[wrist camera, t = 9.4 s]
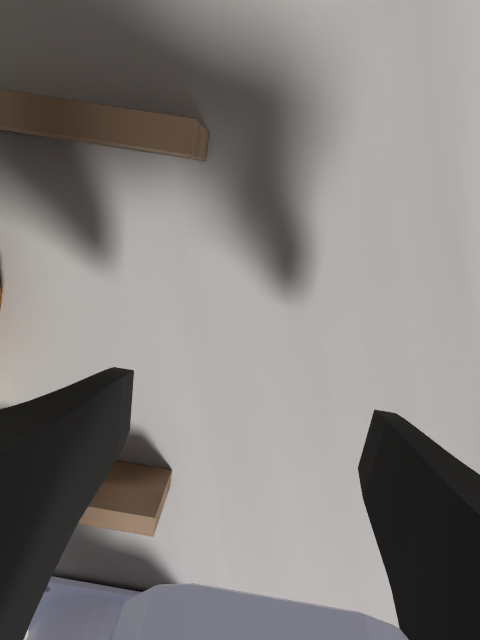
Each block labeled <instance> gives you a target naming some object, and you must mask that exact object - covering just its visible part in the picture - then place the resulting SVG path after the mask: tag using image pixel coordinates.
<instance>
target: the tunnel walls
mask: <svg viewBox="0 0 480 640" xmlns="http://www.w3.org/2000/svg"><path fill="white" fill-rule="evenodd" d="M0 130H5V131H12V132H19V133H25V134H32V135H38V136H45V137H51V138H58V139H65V140H71V141H78V142H84V143H91V144H97V145H104V146H110V147H117V148H124V149H130V150H137V151H143V152H150V153H156V154H163V155H170V156H176V157H183V158H189V159H196V160H202V161H206V156H207V147H208V138H209V131H208V130H207V129H205V128H204V127H203V126H202V125H201V124H200V123H199V122H198V121H197V120H196V119H194V118H187V117H181V116H174V115H167V114H161V113H154V112H147V111H141V110H134V109H127V108H121V107H114V106H107V105H101V104H94V103H87V102H81V101H74V100H67V99H61V98H54V97H47V96H41V95H34V94H27V93H21V92H14V91H7V90H1V89H0ZM171 473H172V470H169V469H163V468H158V467H152V466H146V465H140V464H134V463H128V462H122V461H115V463H114V465H113V466H112V468H111V470H110V471H109V473H108V475H107V476H106V478H105V480H104V481H103V483H102V485H101V486H100V488H99V489H98V491H97V493H96V494H95V496H94V498H93V499H92V501H91V502H90V504H89V506H88V507H87V509H86V511H85V512H84V514H83V516H82V517H81V519H80V520H79V522H78V524H83V525H88V526H94V527H100V528H106V529H111V530H117V531H123V532H129V533H134V534H140V535H146V536H152V537H153V536H154V533H155V530H156V527H157V524H158V521H159V518H160V515H161V512H162V509H163V506H164V503H165V500H166V497H167V494H168V491H169V488H170V482H171Z"/></svg>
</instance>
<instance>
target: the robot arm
mask: <svg viewBox="0 0 480 640" xmlns="http://www.w3.org/2000/svg"><path fill="white" fill-rule="evenodd" d="M133 376H134V370H128V369H122V368H116V367H113V368H110V369H107V370H104V371H102V372H99V373H97V374H95V375H92V376H90V377H88V378H86V379H83V380H81V381H79V382H76V383H74V384H72V385H69V386H67V387H65V388H62V389H59V390H57V391H54V392H52V393H49V394H46V395H44V396H41V397H38V398H36V399H33V400H30V401H27V402H24V403H21V404H18V405H15V406H11V407H8V408H4V409H1V410H0V640H23V639H24V637H25V634H26V632H27V630H28V628H29V636H28V638H27V640H480V475H479V474H478V473H476V472H475V471H474V470H472V469H471V468H469V467H468V466H466V465H465V464H463V463H462V462H461V461H459V460H458V459H457V458H455V457H454V456H452V455H451V454H450V453H448V452H447V451H446V450H444V449H443V448H442V447H441V446H439V445H438V444H437V443H435V442H434V441H433V440H431V439H430V438H429V437H428V436H426V435H425V434H424V433H422V432H421V431H420V430H419V429H417V428H416V427H415V426H413V425H412V424H411V423H409V422H408V421H407V420H405V419H404V418H402V417H401V416H399V415H398V414H396V413H391V412H385V411H379V410H374V413H373V416H372V420H371V424H370V427H369V431H368V434H367V438H366V441H365V445H364V448H363V452H362V455H361V459H360V462H359V466H358V471H359V477H360V484H361V489H362V495H363V500H364V503H365V506H366V510H367V513H368V516H369V519H370V522H371V526H372V529H373V532H374V535H375V538H376V541H377V544H378V547H379V550H380V553H381V556H382V560H383V563H384V566H385V569H386V572H387V575H388V579H389V583H390V586H391V590H392V594H393V599H394V603H395V608H396V613H397V617H398V622H399V627H400V629H399V628H397V627H395V626H393V625H391V624H389V623H386V622H383V621H381V620H378V619H376V618H373V617H371V616H368V615H366V614H363V613H360V612H356V611H350V610H344V609H338V608H333V607H327V606H321V605H315V604H310V603H304V602H298V601H292V600H286V599H281V598H275V597H269V596H263V595H258V594H252V593H246V592H240V591H235V590H229V589H223V588H217V587H211V586H206V585H200V584H159V585H156V586H153V587H151V588H150V589H148V590H146V591H144V592H138V591H132V590H127V589H121V588H115V587H110V586H104V585H98V584H93V583H87V582H82V581H76V580H70V579H65V578H59V577H53V576H52V574H53V572H54V570H55V568H56V566H57V564H58V562H59V560H60V557H61V555H62V553H63V551H64V549H65V547H66V545H67V543H68V541H69V539H70V537H71V535H72V533H73V531H74V529H75V528H76V526H77V524H78V522H79V520H80V519H81V517H82V516H83V514H84V512H85V511H86V509H87V507H88V506H89V504H90V502H91V501H92V499H93V498H94V496H95V494H96V493H97V491H98V489H99V488H100V486H101V485H102V483H103V481H104V480H105V478H106V476H107V475H108V473H109V471H110V470H111V468H112V466H113V465H114V463H115V461H116V460H117V458H118V456H119V454H120V451H121V449H122V447H123V445H124V442H125V440H126V437H127V435H128V433H129V430H130V419H131V405H132V390H133Z"/></svg>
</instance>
